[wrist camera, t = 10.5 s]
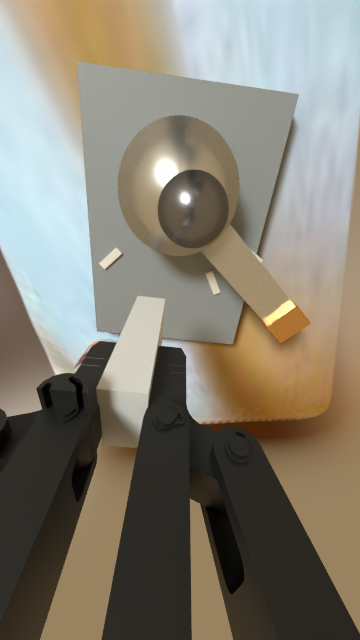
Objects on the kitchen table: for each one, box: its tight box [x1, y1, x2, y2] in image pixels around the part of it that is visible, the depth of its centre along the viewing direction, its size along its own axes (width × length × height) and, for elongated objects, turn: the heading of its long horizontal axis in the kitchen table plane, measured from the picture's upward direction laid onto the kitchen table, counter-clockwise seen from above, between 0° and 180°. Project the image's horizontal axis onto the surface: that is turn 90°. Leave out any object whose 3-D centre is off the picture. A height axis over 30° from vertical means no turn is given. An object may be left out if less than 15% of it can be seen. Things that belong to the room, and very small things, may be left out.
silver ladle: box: [117, 115, 311, 343], centre depth 16 cm, size 16×7×4 cm, turn 44°
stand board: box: [77, 62, 299, 344], centre depth 18 cm, size 18×14×2 cm
